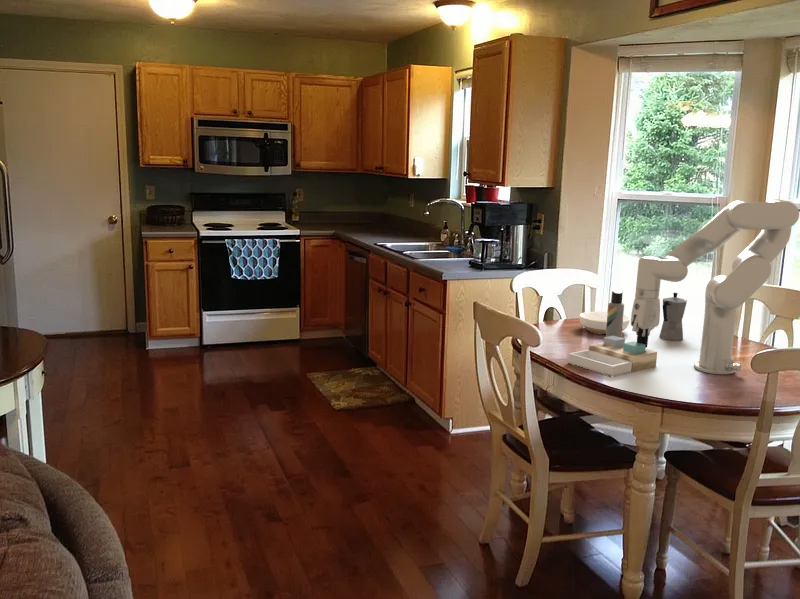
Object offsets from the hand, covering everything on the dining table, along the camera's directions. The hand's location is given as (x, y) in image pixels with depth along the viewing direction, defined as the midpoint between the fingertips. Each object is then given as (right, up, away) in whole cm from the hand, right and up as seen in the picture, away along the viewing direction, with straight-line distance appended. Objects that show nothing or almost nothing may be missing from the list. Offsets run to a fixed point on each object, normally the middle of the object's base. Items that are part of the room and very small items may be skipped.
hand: (641, 346), depth 249 cm
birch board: (-6, -5, +2) cm, 9 cm away
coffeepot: (+24, +1, +38) cm, 45 cm away
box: (-16, -7, -5) cm, 18 cm away
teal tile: (-3, -1, -2) cm, 4 cm away
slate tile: (-8, 0, +5) cm, 9 cm away
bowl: (0, +3, +47) cm, 47 cm away
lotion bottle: (-1, -1, +29) cm, 29 cm away
